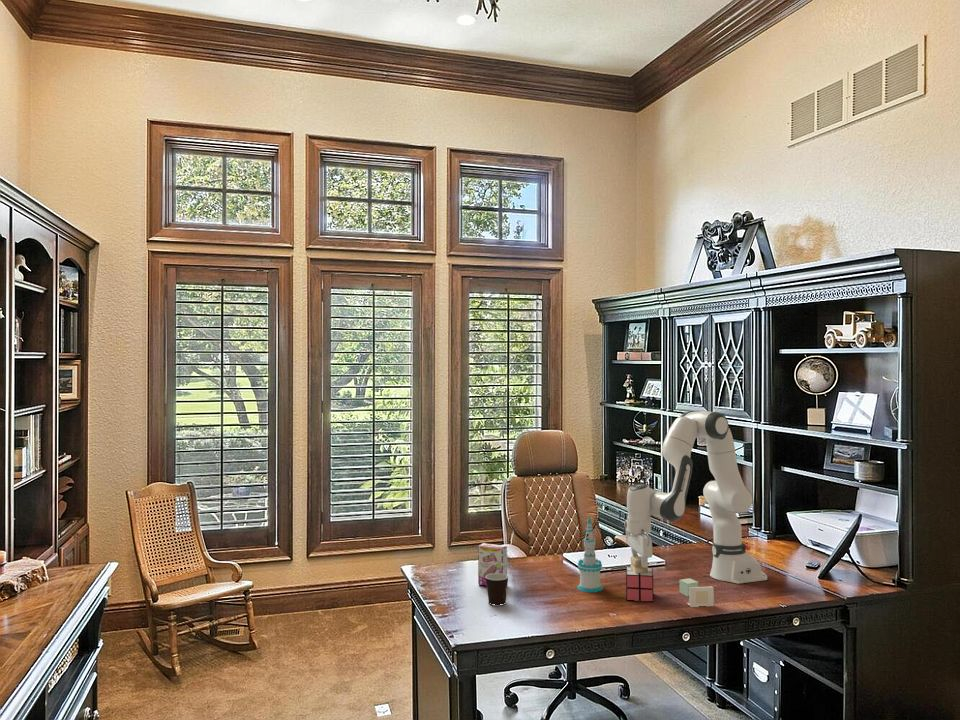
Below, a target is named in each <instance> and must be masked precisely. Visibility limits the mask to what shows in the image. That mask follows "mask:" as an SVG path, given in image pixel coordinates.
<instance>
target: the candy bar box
mask: <svg viewBox="0 0 960 720" xmlns="http://www.w3.org/2000/svg"><path fill="white" fill-rule="evenodd" d="M477 559H478V560H477V561H478V562H477V567H478V569H477V571H478V572H477V574H478V578H477V579H478V583H477V584H479V585H478V586H480V585H485V586H484V587H487V585H486V575H488V574H492V573H502V574H506V575H508V545H503V544H493V543H485V542H482V543H481V544H479V545H478V546H477Z"/></svg>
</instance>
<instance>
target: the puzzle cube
mask: <svg viewBox="0 0 960 720" xmlns="http://www.w3.org/2000/svg"><path fill="white" fill-rule="evenodd" d="M653 572H654V571H653V568H652V567H651V568H650V567H648V573H637V574H635V573H634V572H633V571H632V570H631V566H628V567H626V569H625V589H626V591H625V593H626V594H625V595H626V601H627V600H634V601H633V602H643V601H653V602H654V573H653Z"/></svg>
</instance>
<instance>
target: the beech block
mask: <svg viewBox="0 0 960 720" xmlns="http://www.w3.org/2000/svg"><path fill="white" fill-rule="evenodd" d="M641 560H642V558H641V555H640V556H639V555H638V556H636V557H633V556H630V567H631V570H632V571H633V572H634V573H635V574H637V573H648V568H649V559H648V560H647V566H646V567H642V566H641Z"/></svg>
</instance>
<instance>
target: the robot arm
mask: <svg viewBox="0 0 960 720" xmlns="http://www.w3.org/2000/svg"><path fill="white" fill-rule="evenodd" d="M696 439H705V441H706V443H705V444H706V452H707V461H708V467H709V468H708V469H709V471H710V473H711V474H712V476H713V477H714V480H709V481H708V482H706V484H705V485H704V487H703V490H702V493H703V497H704V499H705V500H706V502H707V504H708V505H707V506H708V508H709V512H710V515H711V520H712V529H713V531H712V532H713V541H712V550H711V551H712V563H711V569H710V573H709V576H710V578H713V579H715V580H718V581H722V582H728V583H729V582H730V583H734V584H738V585H739V584H744V583H753V582H761V581H767V580H768V575H767V574H766V573H765V572H763V571H762V567H761V564H760V563H759V561H758V560H757V559H756V558H754V557H753V556H752V555H751V554H749V553H748V552H749V551H751V546H750V545H748V544H745V543H743V542H742V539H743V538H742V537H743V536H742V535H743V533H742V523H741V521H740V520H739V518H738V516H737V513H738V514H741V513H742V514H743V513H746V512H748V511H749V510H750V508H751V507H752V505H753V498H752V497H753V496H752V494H751V493H750V492H749V490H748V489H747V487H746V486H745V484H744V481H743V479H742V476H741V473H740V471H739V467H738V460H737V452H736V448H735V447H736V445H735V443H734V442H735V441H734V438H733V434H732V431H731V428H730V426H729V420H728V418H727V417H726V415H724V414H723V413H721V412H717V411H709V410H701V411H687V412H684V413H682V414H681V415H680V416H678V417H677V418H675V420H673V422H672V424H671V425H670V427H669V429H668V431H667V433H666V435H665V438H664V440H663V443H662V446H661V453H662V456H663V458H664V460H665V461H666V462H667V463H668V464H670V465H671V466H673V467H674V470H675V476H674V478H673V483H672V489H671V491H670V492H662V491H660V490H655V489H653V488H651V487H650V486H649V485H648V484H646V483H635V484H632V485H630V486H629V487H628V490H627V495H626V509H627V517H626V520H625V521H624V522H623V524H624V525H623V526H624V528H625V540H626V544H627V545H628V546H629V547H630V550H631V554H632V557H636V556H639V555H640V556H641V558H642V560H641V566H642V567H646V566H647V560H648V561H649V558H652V557H653V553H654V552H653V541H652V538H651V536H650V535H649V534H651V531H652V524H651V522H652V521H651V516H653V517H658V518H661V519H664V520H667V521H668V522H669V521H670V522H671V523H672V522H677V521H679V520H680V519H681V518H682V517H683V516H684V514H685V513H686V501H687V496H688V490H689V487H690V483H691V482H690V481H691V478H692V473H693V466H694V464H693V460H692V458H691V457H692V456H691V454H692V450H693V448H694V444H695V441H696Z"/></svg>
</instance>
